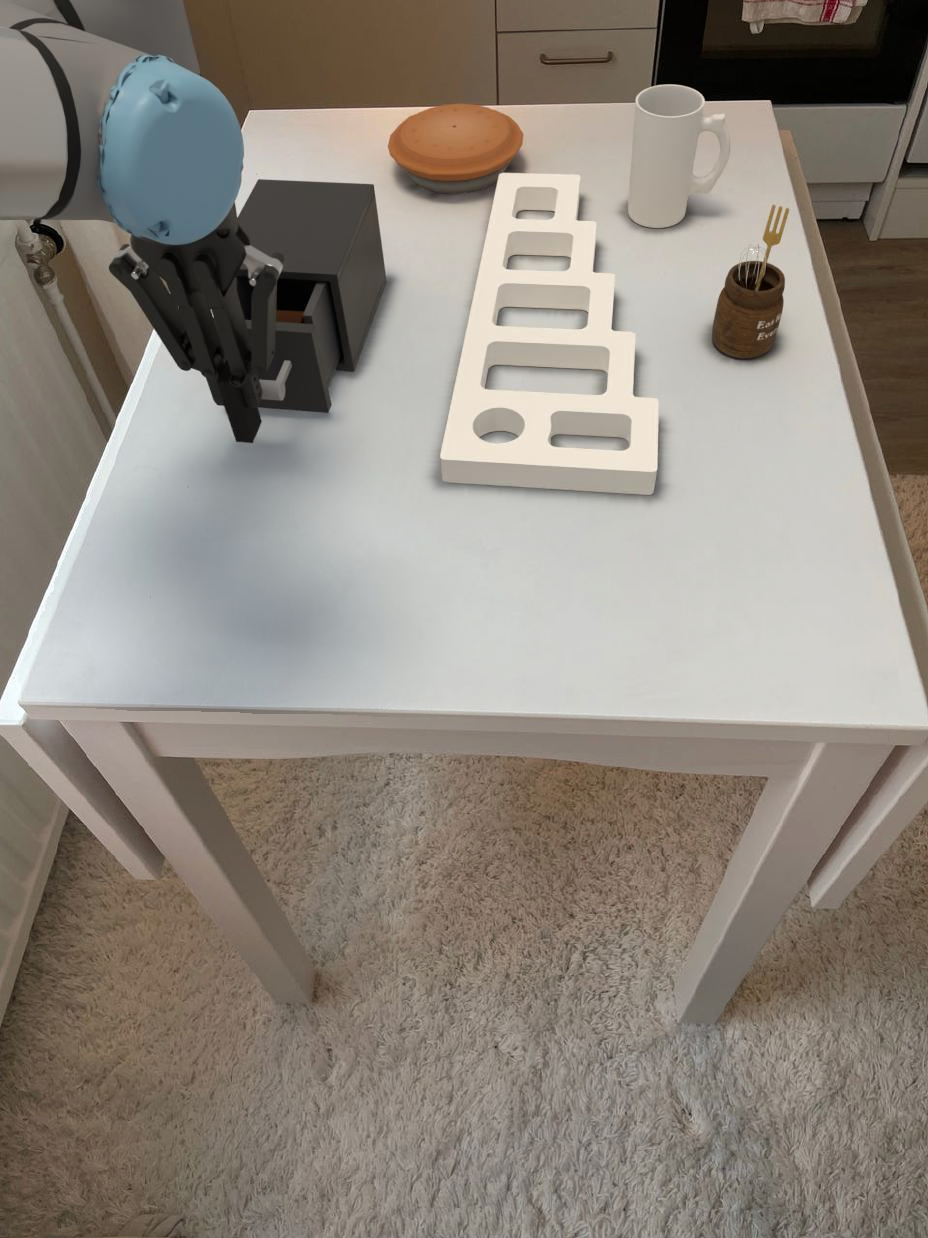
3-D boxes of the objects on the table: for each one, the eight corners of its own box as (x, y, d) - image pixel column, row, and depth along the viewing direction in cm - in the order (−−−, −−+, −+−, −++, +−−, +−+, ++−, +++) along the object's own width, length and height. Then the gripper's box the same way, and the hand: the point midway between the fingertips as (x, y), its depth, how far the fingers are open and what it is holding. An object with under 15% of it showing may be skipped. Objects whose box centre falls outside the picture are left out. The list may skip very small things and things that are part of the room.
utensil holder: (700, 349, 90) (721, 234, 81) (725, 313, 94) (748, 197, 84) (760, 368, 89) (789, 252, 79) (783, 330, 92) (814, 213, 82)
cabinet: (354, 371, 91) (336, 273, 83) (238, 363, 93) (210, 266, 84) (386, 280, 100) (373, 183, 91) (280, 274, 101) (258, 178, 93)
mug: (620, 226, 103) (631, 114, 94) (629, 193, 107) (640, 81, 97) (715, 235, 101) (735, 121, 92) (720, 201, 105) (740, 88, 96)
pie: (525, 134, 116) (526, 92, 112) (519, 205, 107) (519, 161, 103) (400, 135, 117) (395, 93, 113) (383, 205, 108) (378, 162, 104)
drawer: (316, 447, 84) (297, 366, 77) (204, 437, 85) (175, 358, 78) (362, 321, 94) (349, 240, 87) (262, 314, 96) (241, 234, 89)
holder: (499, 195, 108) (499, 172, 106) (660, 199, 106) (663, 176, 104) (441, 481, 82) (439, 459, 80) (653, 495, 80) (657, 472, 78)
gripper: (276, 137, 64) (333, 407, 83) (95, 130, 66) (191, 396, 85) (242, 198, 60) (310, 469, 79) (49, 189, 61) (162, 456, 80)
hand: (249, 431), depth 82 cm, fingers closed
